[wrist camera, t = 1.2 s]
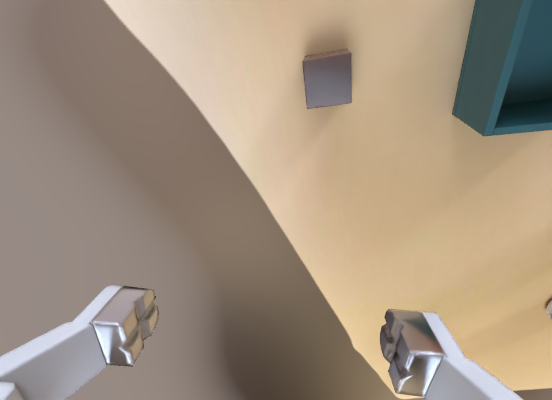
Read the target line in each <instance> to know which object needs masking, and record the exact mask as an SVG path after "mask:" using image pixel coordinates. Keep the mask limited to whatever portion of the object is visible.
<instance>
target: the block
mask: <svg viewBox="0 0 552 400" xmlns="http://www.w3.org/2000/svg"><path fill="white" fill-rule="evenodd" d="M303 72H304V82H305V92H306V102H307V109H310V108H318V107H325V106H333V105H341V104H348V103H352V98H351V52H350V51H349V50H348V49H343V50H337V51H332V52H326V53H320V54H315V55H309V56H305V58H304V60H303Z"/></svg>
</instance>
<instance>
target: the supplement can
mask: <svg viewBox="0 0 552 400" xmlns="http://www.w3.org/2000/svg"><path fill="white" fill-rule="evenodd" d="M546 311H547V314H548V315H549V316H550V318H551V319H552V300H551V301H550V302H549V303H548V306H547V309H546Z"/></svg>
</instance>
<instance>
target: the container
mask: <svg viewBox="0 0 552 400" xmlns="http://www.w3.org/2000/svg"><path fill="white" fill-rule="evenodd" d="M452 114H453V115H454V116H456V117H457V118H459V119H460V120H461V121H463V122H464V123H466V124H467V125H468V126H470V127H471V128H473V129H474V130H476V131H477V132H478V133H480V134H481V135H483V136H492V135H502V134H512V133H523V132H533V131H544V130H552V0H476V2H475V7H474V12H473V17H472V21H471V26H470V31H469V36H468V41H467V46H466V50H465V55H464V60H463V65H462V70H461V75H460V79H459V84H458V89H457V94H456V99H455V103H454V108H453V113H452Z"/></svg>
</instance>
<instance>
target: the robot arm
mask: <svg viewBox="0 0 552 400" xmlns="http://www.w3.org/2000/svg"><path fill="white" fill-rule="evenodd" d="M155 298H156V296H155V292H154V290H152V289H145V288H137V287H128V286H116V285H110V286H107V287H105V288H104V290H103V291H102V292H101V293H100V294H99V295H98V296H97V297H96V298H95V299H94V300H93V301H92V302H91V303H90V304H89V305H88V306H87V307H86V308H85V309H84V310H83V311H82V312H81V313H80V314H79V315H78V317H76V319H74V321H73V322H66V323H64V324H63V325H61V326H59V327H57V328H55V329H53V330H51V331H49V332H47V333H45V334H43V335H41V336H39V337H37V338H35V339H33V340H32V341H30V342H28V343H26V344H24V345H22V346H20V347H18V348H16V349H14V350H12V351H10V352H8V353H6V354H5V355H3V356H1V357H0V400H66V399H67V398H68V397H70V396H71V395H72V394H73V393H75V392H76V391H77V390H78V389H80V388H81V387H82V386H83V385H84V384H86V383H87V382H88V381H89V380H91V378H93V377H94V376H96V375H97V374H98V373H99V372H100V371H102V370H103V369H104V368H105V367H107V365H118V366H133V365H134V363H135V362H136V360H137V358H138V357H139V355H140V353H141V351H142V350H143V348H144V343H143V341H144V340H145V339H146V338H148V337H149V336H151V335H152V333H153V331H154V329H155V328H156V324H157V321H158V314H159V312H158V307H157V306H156V305H155V304H154V303H153V301H154V299H155ZM385 320H386V322H387V323H386V324H385V325H383V326H382V328H381V332H380V344H381V350H382V353H383V356H384V358H385V359H386V360H387V361H388V362H389V363H390V367H389V370H388V372H389V375H390V378H391V381H392V384H393V387H394V390H395V393H398V394H406V395H413V396H421V397H425V398H424V399H425V400H523V399H522V398H521V397H520V396H518V395H517V394H516V393H514V392H513V391H512V390H510V389H509V388H508V387H507V386H505V385H504V384H503V383H501V382H500V381H499V380H498V379H496V378H495V377H494V376H492V375H491V374H490V373H488V372H487V371H486V370H485V369H483V368H482V367H481V366H479V365H478V364H477V363H475V362H474V361H473V360H468V359H466V357H465V355H464V354H463V352H462V351H461V349H460V348H459V346H458V344H457V343H456V341H455V340H454V338H453V337H452V335H451V333H450V332H449V330H448V329H447V327H446V326H445V324H444V322H443V321H442V319H441V318H440V316H439V315H438V314H437V313H435V312H423V311H419V312H418V311H409V310H396V309H388V310H387V311H386V314H385Z"/></svg>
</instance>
